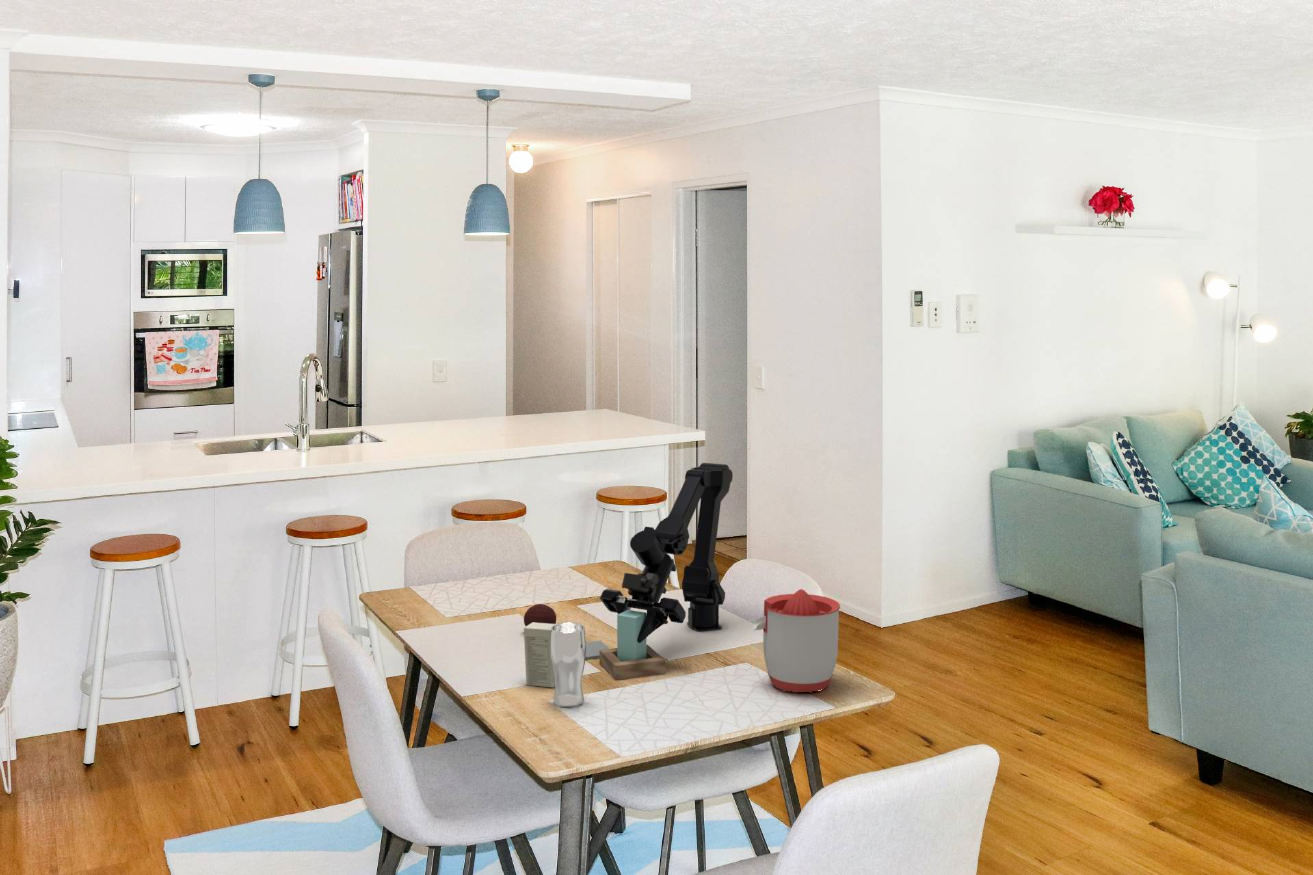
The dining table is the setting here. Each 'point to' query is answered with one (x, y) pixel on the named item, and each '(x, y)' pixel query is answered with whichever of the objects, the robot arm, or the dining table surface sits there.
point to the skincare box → (538, 655)
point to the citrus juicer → (800, 640)
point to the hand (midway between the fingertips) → (628, 640)
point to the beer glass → (568, 663)
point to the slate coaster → (594, 649)
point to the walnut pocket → (632, 664)
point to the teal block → (630, 636)
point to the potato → (540, 615)
